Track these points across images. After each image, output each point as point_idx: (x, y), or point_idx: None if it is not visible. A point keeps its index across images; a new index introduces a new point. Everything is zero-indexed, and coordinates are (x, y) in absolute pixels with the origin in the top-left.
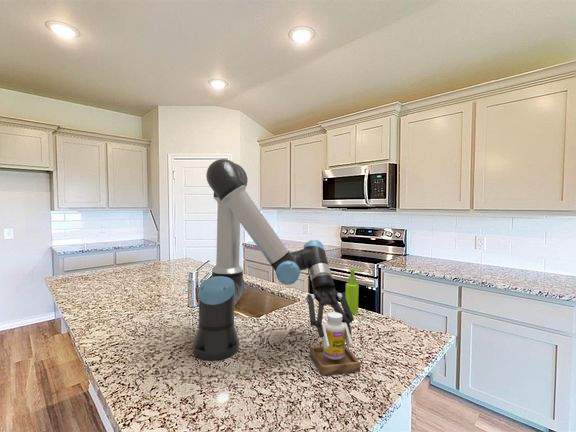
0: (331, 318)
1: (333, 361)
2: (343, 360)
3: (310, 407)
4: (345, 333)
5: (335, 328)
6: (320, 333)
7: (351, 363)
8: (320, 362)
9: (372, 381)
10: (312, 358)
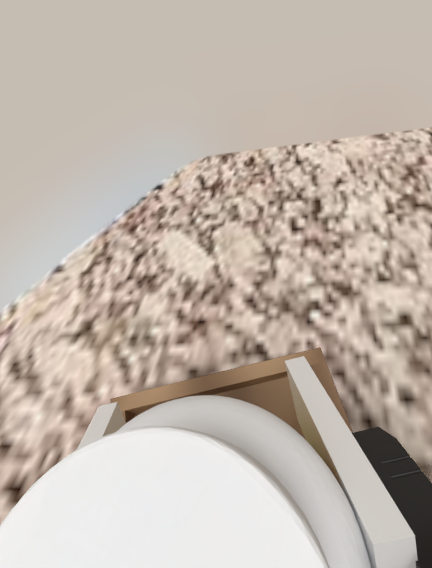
0: (255, 464)
1: None
2: None
3: (351, 192)
4: None
5: (211, 399)
6: (393, 445)
7: (157, 392)
8: (331, 397)
9: (108, 331)
10: None
